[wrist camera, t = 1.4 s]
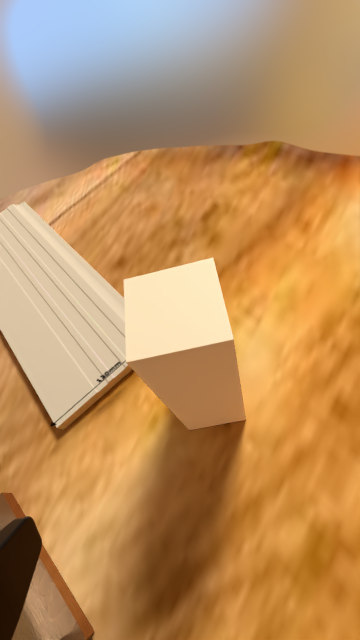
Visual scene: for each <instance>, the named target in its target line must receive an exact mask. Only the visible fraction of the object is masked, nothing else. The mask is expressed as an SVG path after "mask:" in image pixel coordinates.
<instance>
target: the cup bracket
mask: <svg viewBox="0 0 360 640" xmlns="http://www.w3.org/2000/svg"><path fill="white" fill-rule="evenodd" d="M20 517H26V516H25V515H24V513H23V511H22V510H21V508H20V506H19V505H18V503H17V501H16V500H15V498H14V496H13V494H12V493H1V494H0V530H2V529H3V528H4V527H5V526H7V525H8V524H9V523H10V522H11V521H13V520H14V519H16V518H20ZM93 633H94V630H93V628H92V627H91V625H90V623H89V622H88V620H87V618H86V617H85V615H84V613H83V612H82V610H81V608H80V607H79V605H78V603H77V602H76V600H75V598H74V596H73V595H72V593H71V591H70V590H69V588H68V586H67V585H66V583H65V581H64V580H63V578H62V576H61V575H60V573H59V571H58V570H57V568H56V566H55V565H54V563H53V561H52V560H51V558H50V556H49V555H48V553H47V551H46V550H45V548H44V546H43V545H42V548H41V552H40V556H39V559H38V562H37V565H36V568H35V572H34V575H33V578H32V581H31V584H30V588H29V591H28V594H27V597H26V600H25V604H24V607H23V610H22V613H21V616H20V619H19V622H18V624H17V627H16V630H15V632H14V635H13V638H12V640H89V638H90V637H91V636H92V634H93Z"/></svg>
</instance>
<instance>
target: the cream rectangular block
mask: <svg viewBox="0 0 360 640" xmlns="http://www.w3.org/2000/svg"><path fill="white" fill-rule="evenodd" d="M124 307H125V343H126V363H127V364H128V365H129V366H130V367H131V368H132V369H133V370H134V372H135V373H136V374H137V375H138V376H139V377H140V378H141V379H142V380H143V381H144V382H145V383H146V384H147V385H148V387H149V388H150V389H151V390H152V391H153V392H154V393H155V394H156V395H157V396H158V397H159V398H160V399H161V401H162V402H163V403H164V404H165V405H166V406H167V407H168V408H169V409H170V410H171V411H172V412H173V413H174V415H175V416H176V417H177V418H178V419H179V420H180V421H181V422H182V423H183V424H184V425H185V426H186V427H187V429H188V430H193V429H198V428H204V427H210V426H215V425H221V424H226V423H232V422H237V421H243V420H246V416H245V410H244V403H243V397H242V390H241V384H240V378H239V371H238V365H237V358H236V352H235V345H234V339H233V335H232V331H231V327H230V323H229V319H228V315H227V311H226V307H225V303H224V299H223V295H222V291H221V287H220V283H219V279H218V275H217V271H216V267H215V263H214V259H213V258H210V259H206V260H202V261H198V262H194V263H190V264H186V265H182V266H178V267H173V268H169V269H165V270H161V271H157V272H153V273H149V274H145V275H141V276H137V277H133V278H129V279H125V280H124Z"/></svg>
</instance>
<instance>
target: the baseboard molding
mask: <svg viewBox="0 0 360 640" xmlns="http://www.w3.org/2000/svg"><path fill="white" fill-rule="evenodd" d="M0 330H1V332H2V333H3V335H4V337H5V339H6V340H7V342H8V344H9V345H10V347H11V349H12V351H13V352H14V354H15V356H16V358H17V359H18V361H19V363H20V365H21V366H22V368H23V370H24V372H25V373H26V375H27V377H28V379H29V380H30V382H31V384H32V386H33V387H34V389H35V391H36V393H37V394H38V396H39V398H40V400H41V401H42V403H43V405H44V407H45V408H46V410H47V412H48V414H49V415H50V417H51V419H52V421H53V422H54V423H53V422H52V423H51V426H54V425H55V426H56V428H58V429H66V428H67V427H68V426H69V425H70V424H71V423H73V422H74V421H75V420H76V419H77V418H78V417H79V416H80V415H82V414H83V413H84V412H85V411H86V410H87V409H88V408H90V407H91V406H92V405H93V404H94V403H95V402H96V401H97V400H99V399H100V398H101V397H102V396H103V395H104V394H105V393H106V392H108V391H109V390H110V389H111V388H112V387H113V386H114V385H116V384H117V383H118V382H119V381H120V380H121V379H122V378H123V377H125V376H126V375H127V374H128V373H129V372H130V371H131V370H132V368H131V367H130V366H129V365H128V364H127V363H126V343H125V307H124V298H123V297H122V296H121V295H120V294H119V293H118V292H117V291H116V290H115V289H114V288H113V287H112V286H111V285H110V284H109V283H108V282H107V281H106V280H105V279H104V278H103V277H102V276H101V275H99V274H98V273H97V272H96V271H95V270H94V269H93V268H92V267H91V266H90V265H89V264H88V263H87V262H86V261H85V260H84V259H83V258H82V257H81V256H80V255H79V254H78V253H77V252H76V251H75V250H74V249H73V248H72V247H71V246H70V245H69V244H68V243H67V242H66V241H64V240H63V239H62V238H61V237H60V236H59V235H58V234H57V233H56V232H55V231H54V230H53V229H52V228H51V227H50V226H49V225H48V224H47V223H46V222H45V221H44V220H43V219H42V218H41V217H40V216H39V215H38V214H37V213H36V212H35V211H34V210H33V209H32V208H31V207H30V206H28V205H27V204H26V203H25V202H22V203H21V204H19V205H13V204H11V205H10V206H8V207H7V209H5V210H4V211H2V212H1V213H0Z"/></svg>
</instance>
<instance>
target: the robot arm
mask: <svg viewBox="0 0 360 640" xmlns="http://www.w3.org/2000/svg"><path fill="white" fill-rule="evenodd" d="M41 548H42V539H41V537H40V534H39V532H38V530H37V527H36V525H35V522H34V520H33V518H31V517H29V516H27V517H20V518H16V519H14V520H13V521H11V522H10V523H9V524H8V525H7V526H5V527H4V528H3V529H2V530H0V640H12V638H13V635H14V632H15V630H16V627H17V624H18V622H19V619H20V616H21V613H22V610H23V607H24V604H25V600H26V597H27V594H28V591H29V588H30V584H31V581H32V578H33V575H34V572H35V568H36V565H37V562H38V559H39V556H40V552H41Z"/></svg>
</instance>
